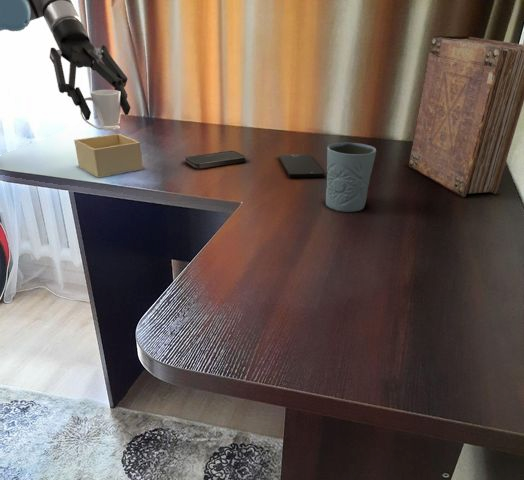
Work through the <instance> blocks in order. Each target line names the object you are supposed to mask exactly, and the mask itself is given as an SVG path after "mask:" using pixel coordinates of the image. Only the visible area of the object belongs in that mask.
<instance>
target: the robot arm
mask: <svg viewBox="0 0 524 480" xmlns="http://www.w3.org/2000/svg"><path fill="white" fill-rule="evenodd" d="M42 17H43V18H44V20H45V22H46V24H47V27H48V28H49V30H50V32H51V34H52V36H53V39H54V41H55V43H56V45H57V47H58V49H56V48H55V47H50V50H49V59H50V61H51V62H52V64H53V68H54V72H55V73H54V74H55V79H56V82H57V88H58V92H59V93H61V94H64V93H67V94H66V96H67V97H69V98H71V100H72V102H73V104H74V105H75V107H78V108H79V110H80V109H81V111H82V115H83V117H84V119H85V120H87V121H89V120H90V117H91V115H92V111H91V109H90V107H89V105H88V103H87V100H86V101H85V96H84V94H83V93H82V91H81V88H80V87H78V86H77V87H76V78H77V77H76V76H77V69H81V68H90V69H91V71H93V72H96V73H97V74H99V76H101V77H102V79H104V80H105V81H106V82H107V83H108V84H109V85H111V86H112V87H113V90H117V91H120V92H121V110H122V112H123V114H124V115H125V116H129V114H130V111H131V105H130V103H129V101H128V93H127V91H126V89H125V87H126V86H127V83H128V77H127V75H126V74H125V73H124V71H123V70H122V68H121V67H120V66H119V65H118V64H117V62H116V61H115V60H114V58H113V57H112V56H111V54H110V53H109V50H108V48H107V46H106V45H104V44H103V45H101V47H96V46H95V45H93V43H92V42H91V40H90V36H89V34H88V32H87V31H86V28H85V25H84V24H83V22H82V19H81V18H80V16H79V14H78V11H77V10H76V8H75V6H74V4H73V1H72V0H0V32H2V31H8V32H9V31H10V32H21V31H23V30H25V28H27V27H28V26H29V25H30V22H31V21H34V20H37V19H40V18H42ZM62 58H63V59H64V60H66V61H67V62H68V63H69V69H68V70H69V73H68V82H66V78H65V72H64V68H63V63H62Z"/></svg>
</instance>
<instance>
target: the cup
mask: <svg viewBox="0 0 524 480" xmlns="http://www.w3.org/2000/svg"><path fill="white" fill-rule="evenodd" d="M90 96H91V97H90ZM90 96H89V97H88V96H87V97H84V99H85V101H86V102H87V101H92V103H93V107H94V109H95V114H96V117H97V118H98V122H99V124H100V125H101V126H100V127H99V126H97V125H94V124H92V123H91V122H89V120H86V119H85V117H84V115H83V113H82V111H81V109H80V108H79V111H80V116H81V118H82V120H83V121H84V122H85V123H87V124H88V125H90V126H91V127H93V128H95V129H98V130H102V131H118V130H120V128H121V126H120V125H119V124H120V122H121V115H122V114H121V112H122V111H121V110H122V108H121V92H120V91H117V90H114V89H96V90H93V91H91V92H90Z"/></svg>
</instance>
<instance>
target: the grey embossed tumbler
mask: <svg viewBox="0 0 524 480" xmlns="http://www.w3.org/2000/svg"><path fill="white" fill-rule="evenodd" d="M326 149H327V150H326V151H327V152H326V154H327V155H326V159H327V160H326V171H327V175H326V189H325V206H327V207H328V208H329V209H331V210H334V211H338V212H344V213H345V212H346V213H352V212H353V213H354V212H359V211H362V210H364V208H365V206H366V202H367V197H368V189H369V186H370V179H371V175H372V171H373V167H374V164H375V159H376V155H377V149H376V147H374V146H373V145H368V144H365V143H358V142H334V143H331V144H329V145H328V146H327V148H326Z"/></svg>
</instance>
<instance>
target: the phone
mask: <svg viewBox="0 0 524 480" xmlns="http://www.w3.org/2000/svg"><path fill="white" fill-rule="evenodd" d="M245 162H247V157H246V155H243V154H241V153H240V152H237V151H236V150H227V151H219V152H211V153H205V154H198V155H197V154H196V155H190V156H189V155H187V156H185V163H186V164H188V165H190V166H191V167H193V168H195V169H206V168H213V167H221V166H226V165H232V164H234V165H235V164H239V163H240V164H241V163H245Z"/></svg>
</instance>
